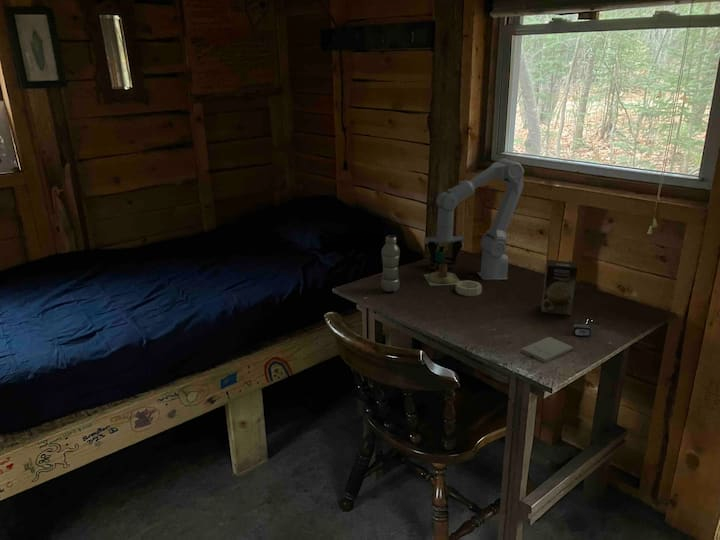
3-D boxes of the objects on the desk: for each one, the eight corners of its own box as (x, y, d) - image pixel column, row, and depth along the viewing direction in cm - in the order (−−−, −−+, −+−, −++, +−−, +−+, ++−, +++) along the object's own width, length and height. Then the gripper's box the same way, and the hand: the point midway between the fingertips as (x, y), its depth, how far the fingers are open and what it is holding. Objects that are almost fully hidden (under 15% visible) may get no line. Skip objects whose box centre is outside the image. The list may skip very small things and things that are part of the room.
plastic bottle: (402, 292, 198) (404, 238, 191) (385, 295, 196) (386, 240, 189) (395, 286, 204) (396, 233, 197) (377, 289, 201) (378, 235, 195)
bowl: (476, 288, 202) (476, 280, 201) (483, 296, 194) (484, 288, 193) (453, 288, 201) (453, 281, 200) (459, 297, 193) (460, 289, 192)
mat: (453, 274, 215) (454, 273, 215) (462, 285, 204) (462, 284, 204) (423, 275, 214) (423, 274, 214) (430, 287, 203) (430, 285, 203)
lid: (452, 274, 214) (453, 259, 213) (460, 283, 205) (460, 268, 203) (425, 275, 213) (426, 260, 211) (432, 284, 204) (432, 269, 202)
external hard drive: (572, 351, 157) (544, 364, 150) (547, 341, 163) (520, 353, 156) (573, 346, 156) (545, 359, 149) (548, 336, 163) (520, 347, 156)
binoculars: (461, 246, 217) (439, 247, 213) (457, 272, 220) (436, 274, 216) (448, 240, 225) (427, 241, 220) (445, 266, 228) (424, 267, 223)
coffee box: (541, 312, 181) (546, 265, 176) (540, 304, 187) (546, 259, 182) (571, 315, 179) (577, 267, 174) (570, 307, 185) (576, 261, 180)
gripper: (461, 222, 207) (459, 257, 211) (423, 223, 205) (421, 258, 210) (467, 227, 200) (464, 263, 205) (427, 228, 199) (425, 264, 203)
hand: (443, 261), depth 207 cm, fingers open, 7 cm apart
